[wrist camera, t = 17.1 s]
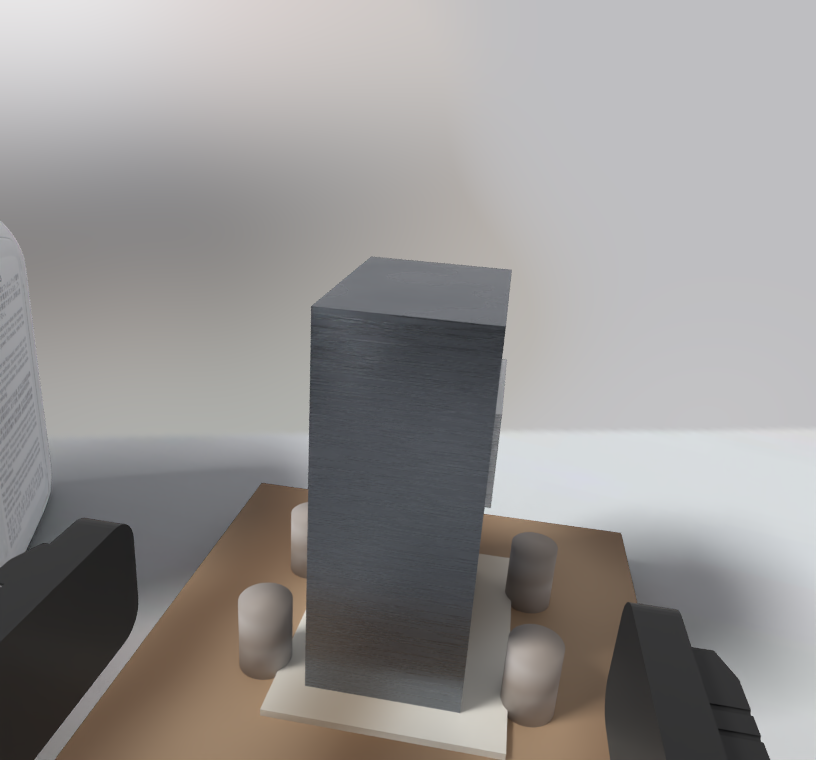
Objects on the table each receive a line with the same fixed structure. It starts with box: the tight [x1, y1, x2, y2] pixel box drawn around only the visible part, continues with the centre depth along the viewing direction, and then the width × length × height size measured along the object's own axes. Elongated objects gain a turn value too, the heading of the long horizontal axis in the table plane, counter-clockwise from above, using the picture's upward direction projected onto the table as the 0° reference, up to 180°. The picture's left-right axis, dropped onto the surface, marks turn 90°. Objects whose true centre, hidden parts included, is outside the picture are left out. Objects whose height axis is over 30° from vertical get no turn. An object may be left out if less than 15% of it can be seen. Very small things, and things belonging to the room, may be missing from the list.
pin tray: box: [55, 483, 637, 760], centre depth 20 cm, size 14×14×4 cm
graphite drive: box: [305, 257, 512, 713], centre depth 19 cm, size 4×6×10 cm
